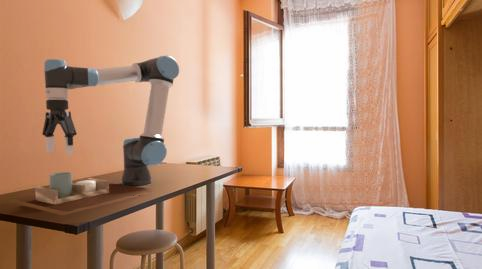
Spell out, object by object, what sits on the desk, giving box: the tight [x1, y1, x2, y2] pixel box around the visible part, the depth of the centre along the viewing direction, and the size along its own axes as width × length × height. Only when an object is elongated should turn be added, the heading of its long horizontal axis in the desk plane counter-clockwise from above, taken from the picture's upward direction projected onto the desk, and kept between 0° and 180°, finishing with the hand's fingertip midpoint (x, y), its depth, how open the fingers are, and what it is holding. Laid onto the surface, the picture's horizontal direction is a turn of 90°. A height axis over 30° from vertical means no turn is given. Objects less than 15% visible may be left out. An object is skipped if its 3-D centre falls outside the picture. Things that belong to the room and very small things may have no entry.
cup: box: [48, 171, 73, 199], centre depth 127 cm, size 8×8×10 cm
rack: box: [34, 177, 110, 205], centre depth 131 cm, size 23×14×6 cm, turn 148°
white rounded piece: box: [75, 179, 96, 193], centre depth 136 cm, size 8×8×5 cm
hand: (59, 153), depth 126 cm, fingers open, 13 cm apart
